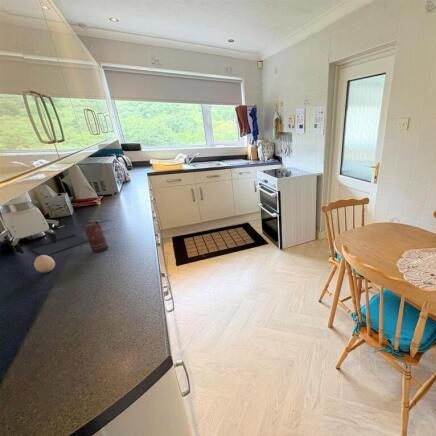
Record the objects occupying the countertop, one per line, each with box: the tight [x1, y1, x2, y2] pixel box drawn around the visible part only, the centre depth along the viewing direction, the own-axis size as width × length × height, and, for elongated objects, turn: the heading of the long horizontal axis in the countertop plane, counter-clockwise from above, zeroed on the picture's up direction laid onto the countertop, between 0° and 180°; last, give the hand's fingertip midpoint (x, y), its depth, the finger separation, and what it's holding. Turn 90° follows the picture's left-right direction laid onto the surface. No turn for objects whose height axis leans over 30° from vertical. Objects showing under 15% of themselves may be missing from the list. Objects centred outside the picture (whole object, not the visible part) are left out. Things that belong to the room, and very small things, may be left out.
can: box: [83, 221, 109, 254], centre depth 111 cm, size 6×6×14 cm
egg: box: [33, 255, 56, 274], centre depth 95 cm, size 6×6×8 cm
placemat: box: [28, 234, 89, 257], centre depth 118 cm, size 18×16×1 cm
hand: (38, 247), depth 92 cm, fingers open, 9 cm apart
